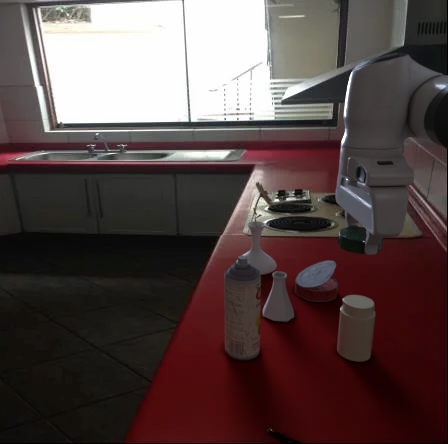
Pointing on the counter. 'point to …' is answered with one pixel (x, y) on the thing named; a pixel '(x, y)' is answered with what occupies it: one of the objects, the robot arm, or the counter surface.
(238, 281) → the aerosol can
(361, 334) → the white jar
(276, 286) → the flask
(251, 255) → the flower in vase
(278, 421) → the counter surface
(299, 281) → the canned food
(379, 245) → the lid
